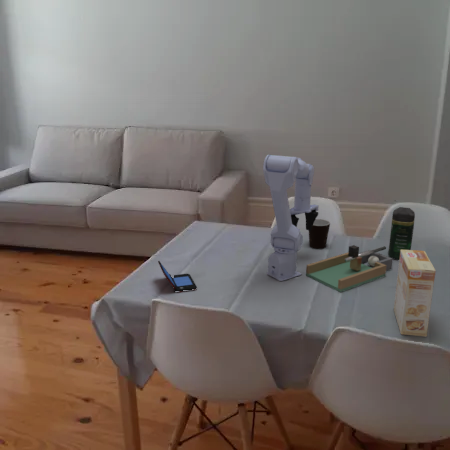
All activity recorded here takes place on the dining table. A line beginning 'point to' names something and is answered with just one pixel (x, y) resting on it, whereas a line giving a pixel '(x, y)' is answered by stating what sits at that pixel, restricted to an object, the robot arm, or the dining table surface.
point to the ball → (372, 260)
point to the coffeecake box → (414, 292)
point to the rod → (359, 256)
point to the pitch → (347, 271)
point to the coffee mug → (319, 234)
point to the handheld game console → (179, 280)
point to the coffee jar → (401, 231)
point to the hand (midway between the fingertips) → (301, 232)
